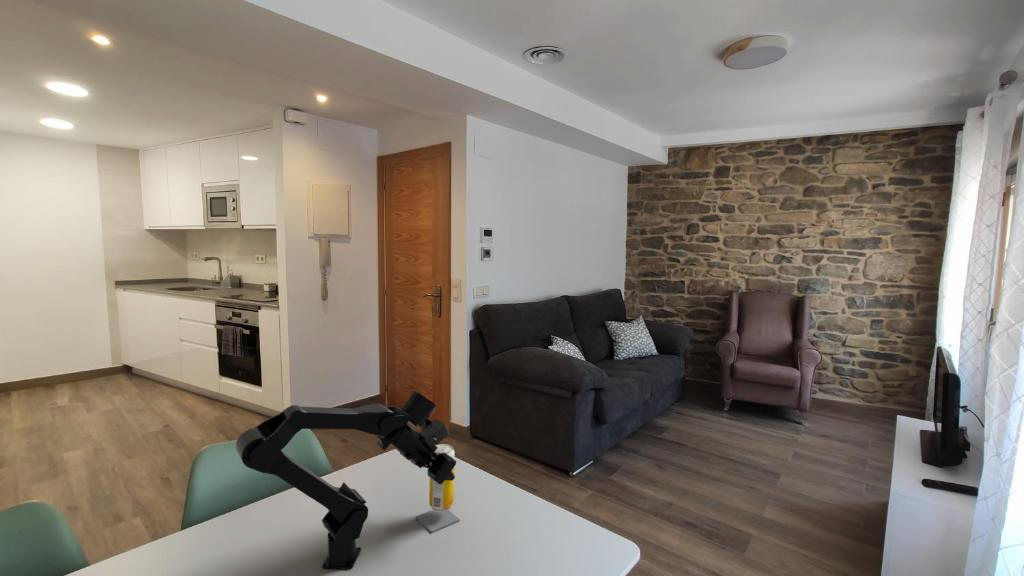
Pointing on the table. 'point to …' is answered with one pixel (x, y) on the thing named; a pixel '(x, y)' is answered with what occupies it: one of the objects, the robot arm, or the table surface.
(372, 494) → the table surface
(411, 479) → the table surface
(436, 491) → the beer can
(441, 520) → the slate mat
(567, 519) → the table surface
